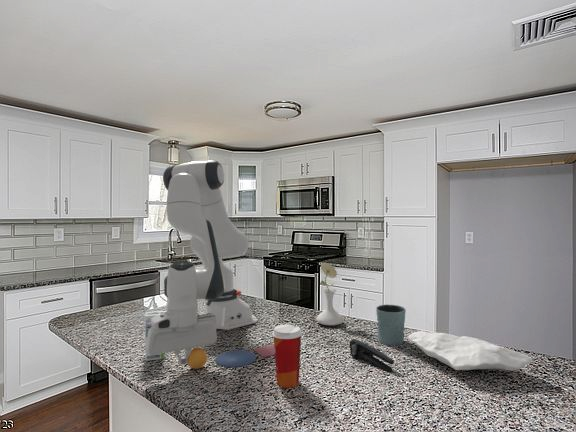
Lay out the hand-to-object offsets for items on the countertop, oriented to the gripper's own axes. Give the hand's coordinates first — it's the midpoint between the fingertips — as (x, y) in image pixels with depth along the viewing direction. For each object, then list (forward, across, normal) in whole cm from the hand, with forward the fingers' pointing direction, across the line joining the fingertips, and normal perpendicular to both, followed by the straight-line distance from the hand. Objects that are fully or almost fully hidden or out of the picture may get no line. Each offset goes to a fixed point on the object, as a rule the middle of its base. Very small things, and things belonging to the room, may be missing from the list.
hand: (183, 363), depth 111 cm
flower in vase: (+1, -64, -15) cm, 66 cm away
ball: (-1, -4, 0) cm, 4 cm away
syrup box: (+2, +5, -15) cm, 16 cm away
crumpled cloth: (+2, -73, +40) cm, 83 cm away
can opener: (+2, -52, +23) cm, 57 cm away
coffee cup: (+2, -23, +22) cm, 32 cm away
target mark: (+2, -17, -1) cm, 17 cm away
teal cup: (+2, -70, +14) cm, 71 cm away
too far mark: (+2, -29, -1) cm, 29 cm away
